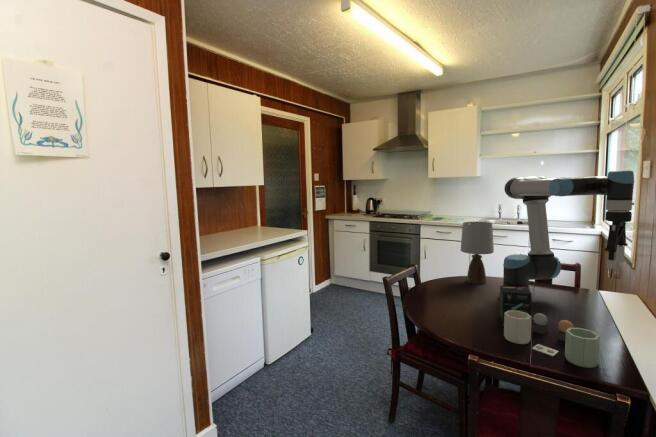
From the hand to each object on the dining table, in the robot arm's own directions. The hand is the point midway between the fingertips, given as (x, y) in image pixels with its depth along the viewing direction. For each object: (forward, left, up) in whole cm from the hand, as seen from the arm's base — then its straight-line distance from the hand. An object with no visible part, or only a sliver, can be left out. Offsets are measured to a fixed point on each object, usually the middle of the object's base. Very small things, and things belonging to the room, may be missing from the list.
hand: (615, 264), depth 128 cm
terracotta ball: (-10, -18, -26) cm, 33 cm away
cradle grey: (-19, -18, -28) cm, 39 cm away
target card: (-11, -33, -28) cm, 45 cm away
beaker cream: (-22, -32, -28) cm, 48 cm away
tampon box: (-30, -15, -29) cm, 44 cm away
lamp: (-71, +25, -29) cm, 81 cm away
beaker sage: (-1, -32, -28) cm, 43 cm away
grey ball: (-19, -18, -26) cm, 37 cm away
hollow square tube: (-10, -18, -28) cm, 35 cm away
